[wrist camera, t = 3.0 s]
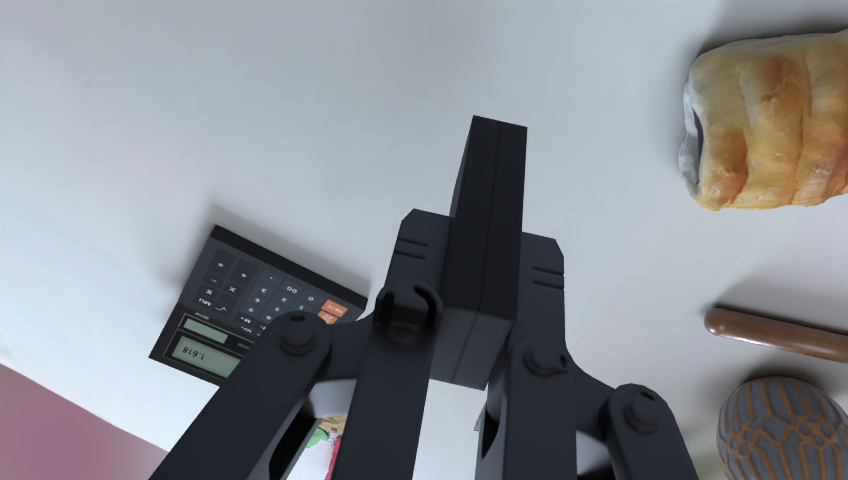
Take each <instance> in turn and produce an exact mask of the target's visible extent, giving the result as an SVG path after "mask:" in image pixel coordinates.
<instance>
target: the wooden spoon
mask: <svg viewBox="0 0 848 480" xmlns="http://www.w3.org/2000/svg"><path fill="white" fill-rule="evenodd" d="M704 325H705V327H706V329H707V330H708V331H709V332H710V333H712V334H714V335H717V336H722V337H726V338H731V339H736V340H740V341H745V342H749V343H754V344H758V345H763V346H767V347H772V348H776V349H781V350H786V351H790V352H795V353H799V354H804V355H808V356H813V357H817V358H822V359H827V360H831V361H836V362H840V363H845V364H848V336H845V335H841V334H836V333H832V332H827V331H823V330H818V329H814V328H809V327H804V326H800V325H795V324H791V323H786V322H782V321H777V320H773V319H768V318H764V317H759V316H754V315H750V314H745V313H741V312H736V311H732V310H727V309H723V308H714V309H711V310H710V311H708V312H707V313H706V315H705V317H704Z"/></svg>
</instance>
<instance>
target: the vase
mask: <svg viewBox="0 0 848 480" xmlns="http://www.w3.org/2000/svg"><path fill="white" fill-rule="evenodd" d="M717 446H718V452H719V457H720V461H721V465H722V468H723V470H724V473H725V475H726V477H727V479H728V480H848V416H847V414H846V413H845V412H844V411H843V409H842V408H841V407H840V406H839V405H838V404H837V403H836V402H835V401H834V400H833V399H832V398H831V397H830V396H829V395H827V394H826V393H824V392H823V391H821V390H820V389H818V388H816V387H814V386H812V385H810V384H808V383H806V382H803V381H801V380H798V379H795V378H790V377H782V376H771V377H763V378H758V379H754V380H751V381H749V382H746V383H744V384H743V385H741V386H740V387H738V388H737V389H736V390H735V391H734V392H733V393H732V394H731V395H730V396H729V397H728V398H727V400H726V401H725V403H724V405H723V406H722V408H721V411H720V414H719V418H718V423H717Z"/></svg>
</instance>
